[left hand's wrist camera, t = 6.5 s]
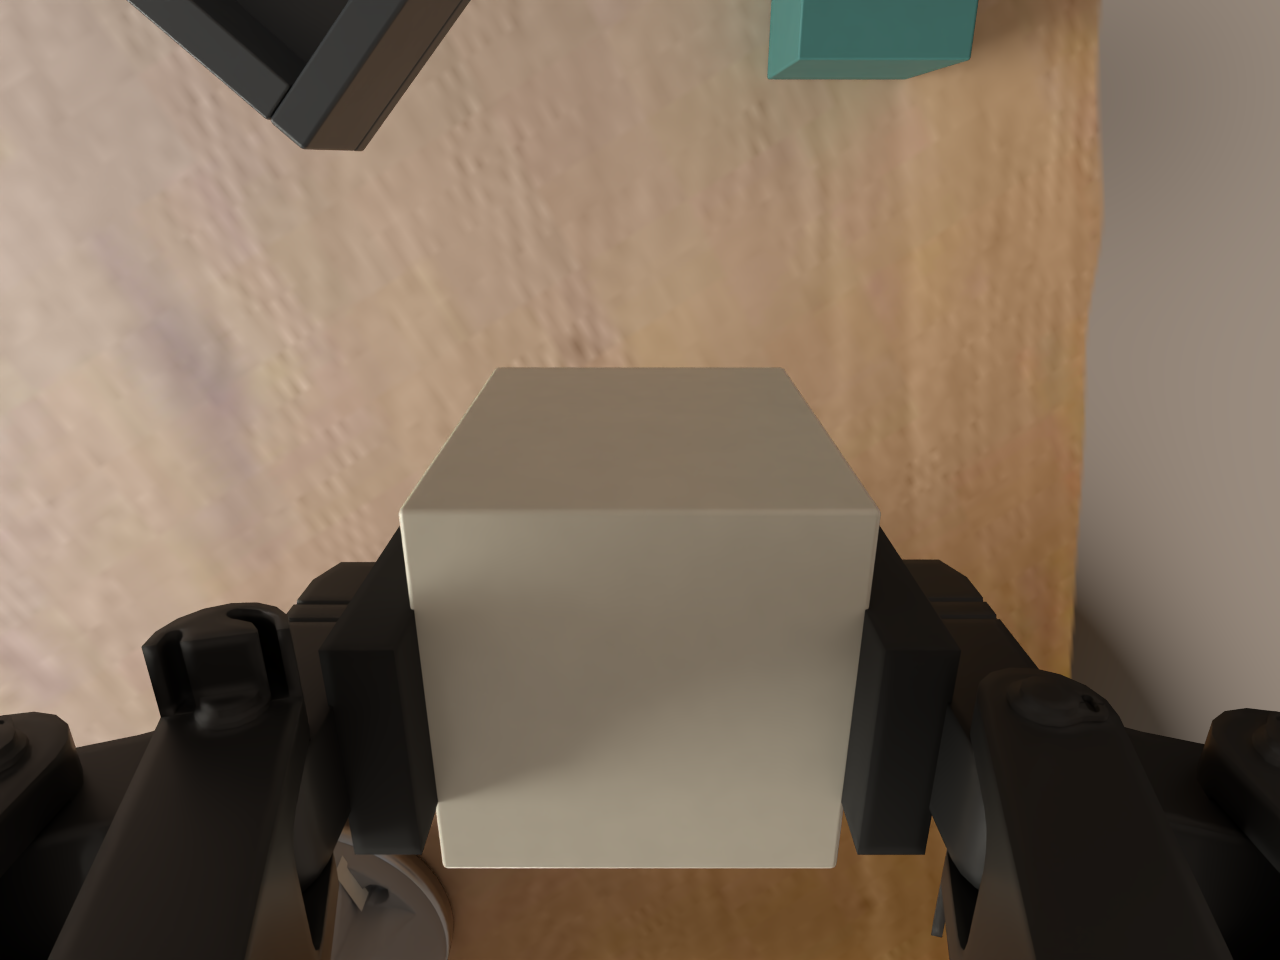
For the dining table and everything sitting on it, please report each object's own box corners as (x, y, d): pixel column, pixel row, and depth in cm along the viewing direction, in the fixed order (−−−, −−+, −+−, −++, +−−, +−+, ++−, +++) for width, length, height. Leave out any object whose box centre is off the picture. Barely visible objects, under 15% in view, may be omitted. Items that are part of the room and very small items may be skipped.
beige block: (766, 615, 16) (836, 870, 10) (512, 615, 16) (442, 870, 10) (784, 366, 14) (883, 510, 8) (494, 366, 14) (396, 510, 8)
